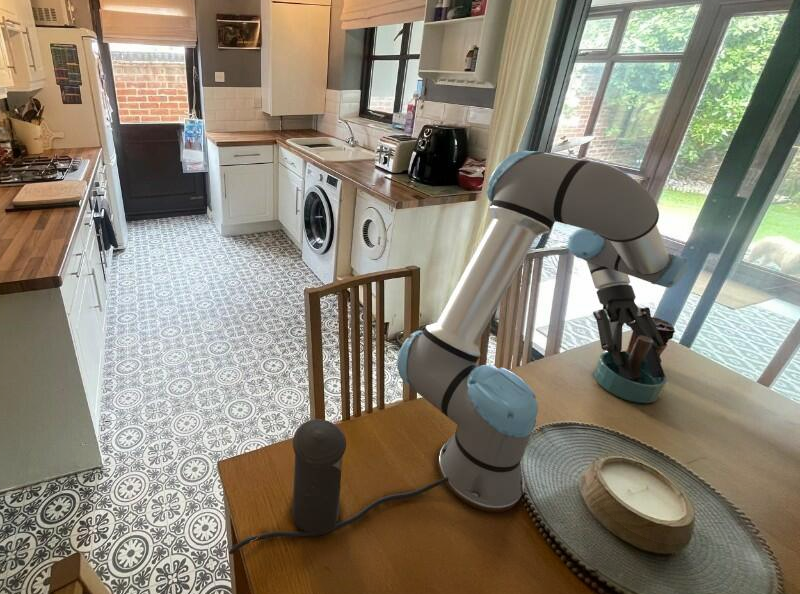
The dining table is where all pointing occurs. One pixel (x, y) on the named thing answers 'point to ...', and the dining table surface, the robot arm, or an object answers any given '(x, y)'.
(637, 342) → the pestle
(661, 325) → the coffee cup
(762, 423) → the dining table surface
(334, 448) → the container
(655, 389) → the bowl
